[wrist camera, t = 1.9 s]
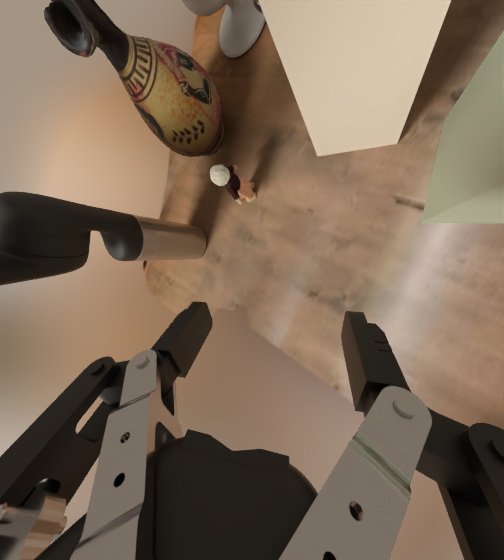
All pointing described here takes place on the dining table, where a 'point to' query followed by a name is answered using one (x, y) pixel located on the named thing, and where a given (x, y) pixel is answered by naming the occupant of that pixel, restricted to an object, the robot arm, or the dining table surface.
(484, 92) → the green tall block
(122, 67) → the ceramic jug
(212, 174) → the grandmother figurine
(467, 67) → the dining table surface
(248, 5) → the chalice
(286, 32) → the tall stand
